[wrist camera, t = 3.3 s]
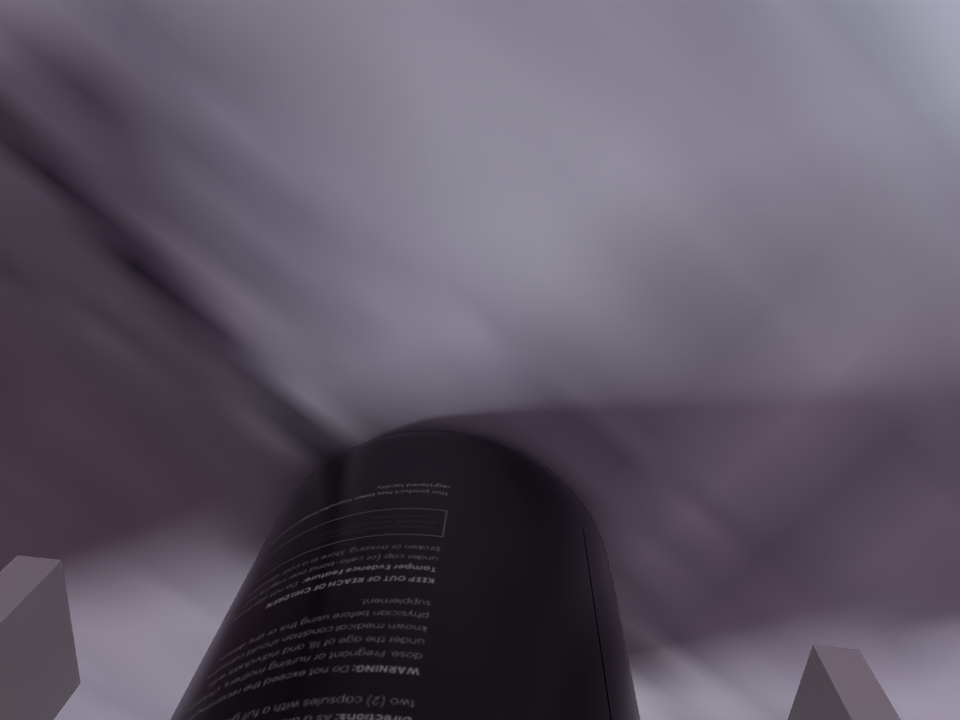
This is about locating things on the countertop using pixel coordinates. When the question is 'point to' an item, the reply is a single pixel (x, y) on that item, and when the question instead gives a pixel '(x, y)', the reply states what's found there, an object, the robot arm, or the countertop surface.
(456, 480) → the supplement bottle
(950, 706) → the countertop surface
